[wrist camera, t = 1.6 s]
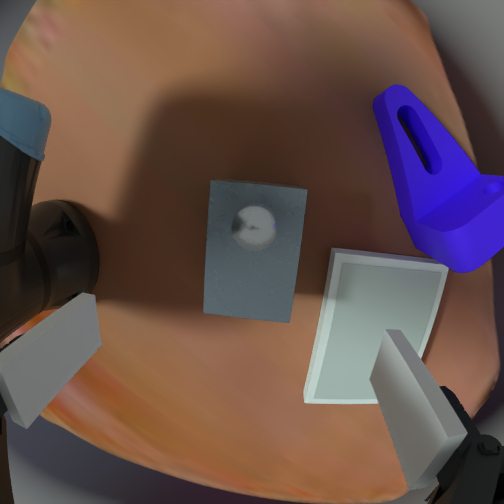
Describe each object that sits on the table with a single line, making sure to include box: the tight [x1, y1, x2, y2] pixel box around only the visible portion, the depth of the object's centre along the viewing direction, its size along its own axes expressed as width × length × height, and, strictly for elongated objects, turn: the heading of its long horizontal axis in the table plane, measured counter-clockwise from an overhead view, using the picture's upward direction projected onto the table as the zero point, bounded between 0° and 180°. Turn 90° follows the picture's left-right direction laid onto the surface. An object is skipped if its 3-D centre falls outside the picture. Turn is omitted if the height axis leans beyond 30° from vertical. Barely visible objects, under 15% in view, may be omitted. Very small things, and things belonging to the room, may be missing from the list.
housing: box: [203, 179, 308, 323], centre depth 30 cm, size 8×13×10 cm, turn 175°
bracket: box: [373, 85, 504, 273], centre depth 26 cm, size 18×11×12 cm, turn 34°
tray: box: [303, 247, 449, 404], centre depth 36 cm, size 15×21×3 cm
